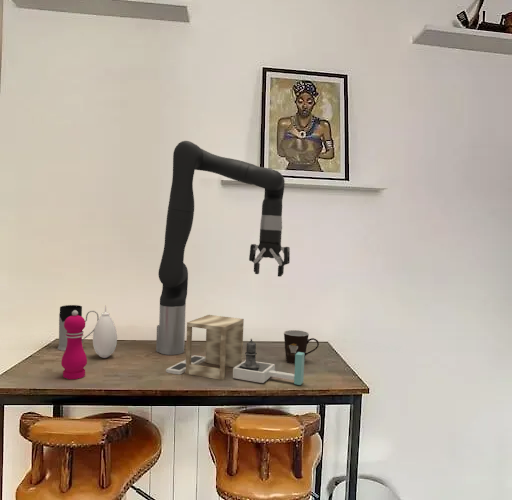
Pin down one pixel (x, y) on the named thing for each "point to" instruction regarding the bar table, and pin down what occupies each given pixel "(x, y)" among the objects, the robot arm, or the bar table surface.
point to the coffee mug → (296, 344)
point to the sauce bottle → (105, 336)
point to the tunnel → (216, 345)
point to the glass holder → (64, 313)
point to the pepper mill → (74, 348)
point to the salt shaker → (250, 357)
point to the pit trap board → (181, 366)
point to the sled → (271, 371)
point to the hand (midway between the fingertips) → (268, 275)
